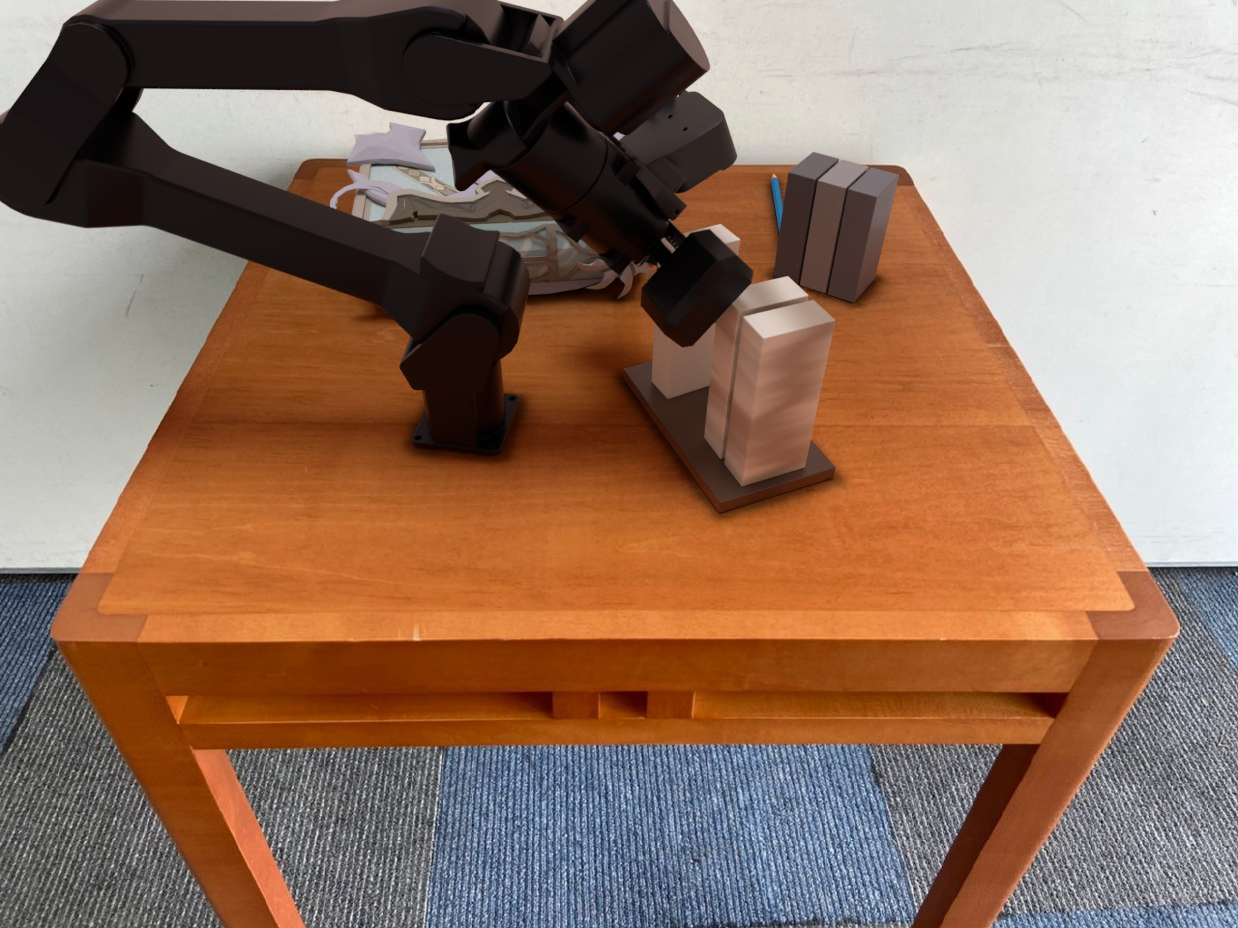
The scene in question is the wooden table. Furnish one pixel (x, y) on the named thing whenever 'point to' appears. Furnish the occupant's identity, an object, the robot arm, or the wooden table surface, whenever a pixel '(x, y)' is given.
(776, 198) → the pencil
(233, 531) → the wooden table surface
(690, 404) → the white book rack
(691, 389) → the white book
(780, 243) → the grey books
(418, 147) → the ornate book
